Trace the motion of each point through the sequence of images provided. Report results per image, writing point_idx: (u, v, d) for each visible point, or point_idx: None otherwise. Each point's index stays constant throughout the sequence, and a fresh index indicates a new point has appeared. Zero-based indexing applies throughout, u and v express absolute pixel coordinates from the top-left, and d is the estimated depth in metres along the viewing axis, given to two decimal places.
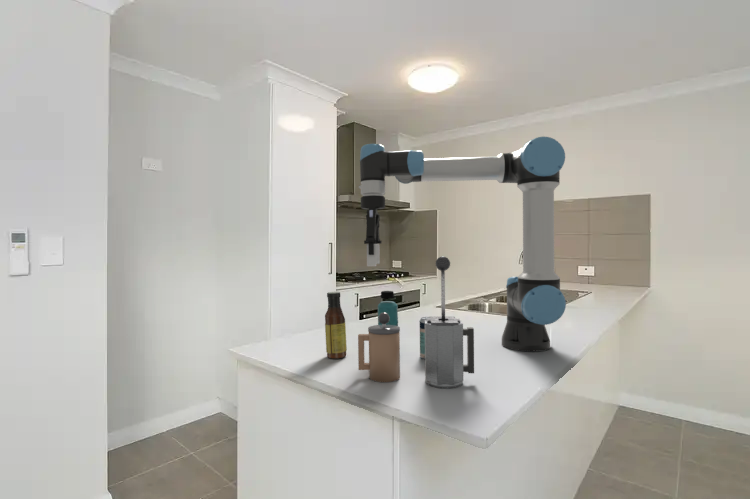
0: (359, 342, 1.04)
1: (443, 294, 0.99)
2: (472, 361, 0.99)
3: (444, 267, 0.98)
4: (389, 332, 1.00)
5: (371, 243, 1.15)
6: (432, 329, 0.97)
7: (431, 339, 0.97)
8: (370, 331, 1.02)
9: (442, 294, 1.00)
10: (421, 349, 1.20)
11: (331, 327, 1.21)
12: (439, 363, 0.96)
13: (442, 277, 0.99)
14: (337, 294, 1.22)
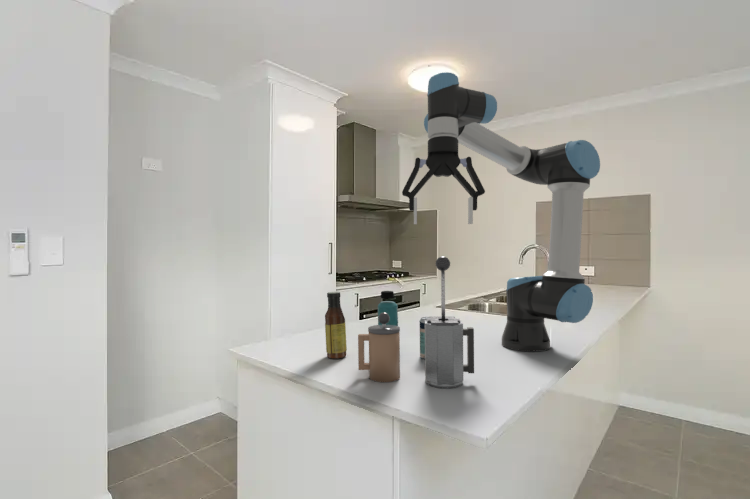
0: (359, 342, 1.04)
1: (443, 294, 0.99)
2: (472, 361, 0.99)
3: (444, 267, 0.98)
4: (389, 332, 1.00)
5: (408, 197, 1.01)
6: (432, 329, 0.97)
7: (431, 339, 0.97)
8: (370, 331, 1.02)
9: (442, 294, 1.00)
10: (421, 349, 1.20)
11: (331, 327, 1.21)
12: (439, 363, 0.96)
13: (442, 277, 0.99)
14: (337, 294, 1.22)
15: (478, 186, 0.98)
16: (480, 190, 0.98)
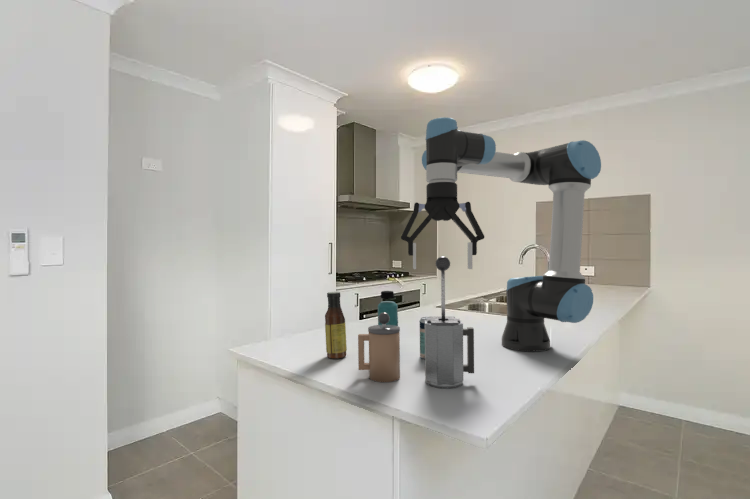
0: (359, 342, 1.04)
1: (443, 294, 0.99)
2: (472, 361, 0.99)
3: (444, 267, 0.98)
4: (389, 332, 1.00)
5: None
6: (432, 329, 0.97)
7: (431, 339, 0.97)
8: (370, 331, 1.02)
9: (442, 294, 1.00)
10: (421, 349, 1.20)
11: (331, 327, 1.21)
12: (439, 363, 0.96)
13: (442, 277, 0.99)
14: (337, 294, 1.22)
15: (477, 231, 0.98)
16: (479, 235, 0.98)
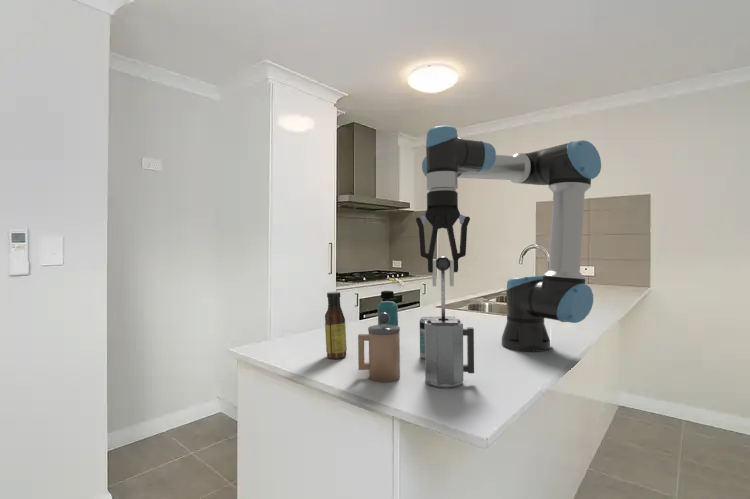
0: (359, 342, 1.04)
1: (443, 294, 0.99)
2: (472, 361, 0.99)
3: (444, 267, 0.98)
4: (389, 332, 1.00)
5: None
6: (432, 329, 0.97)
7: (431, 339, 0.97)
8: (370, 331, 1.02)
9: (442, 294, 1.00)
10: (421, 349, 1.20)
11: (331, 327, 1.21)
12: (439, 363, 0.96)
13: (442, 277, 0.99)
14: (337, 294, 1.22)
15: (462, 247, 0.98)
16: (462, 252, 0.98)
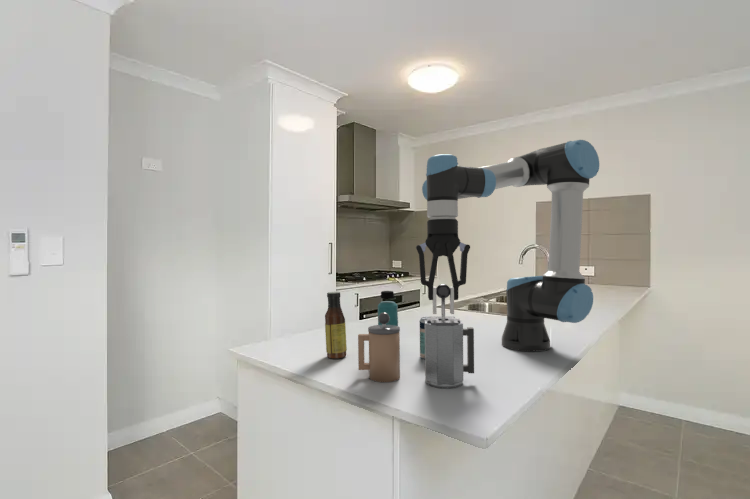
0: (359, 342, 1.04)
1: None
2: (472, 361, 0.99)
3: (444, 295, 0.98)
4: (389, 332, 1.00)
5: (427, 286, 1.00)
6: (432, 329, 0.97)
7: (431, 339, 0.97)
8: (370, 331, 1.02)
9: None
10: (421, 349, 1.20)
11: (331, 327, 1.21)
12: (439, 363, 0.96)
13: (442, 305, 1.00)
14: (337, 294, 1.22)
15: (462, 275, 0.98)
16: (462, 280, 0.98)
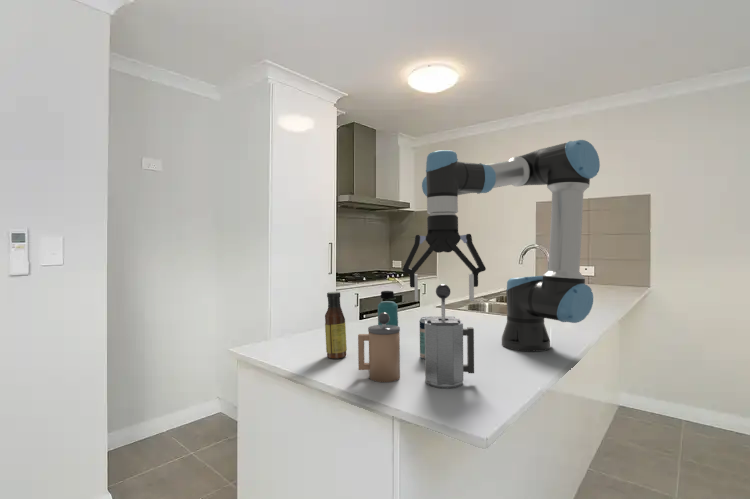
0: (359, 342, 1.04)
1: None
2: (472, 361, 0.99)
3: (444, 295, 0.98)
4: (389, 332, 1.00)
5: None
6: (432, 329, 0.97)
7: (431, 339, 0.97)
8: (370, 331, 1.02)
9: None
10: (421, 349, 1.20)
11: (331, 327, 1.21)
12: (439, 363, 0.96)
13: (442, 305, 1.00)
14: (337, 294, 1.22)
15: (479, 263, 0.98)
16: (481, 267, 0.98)
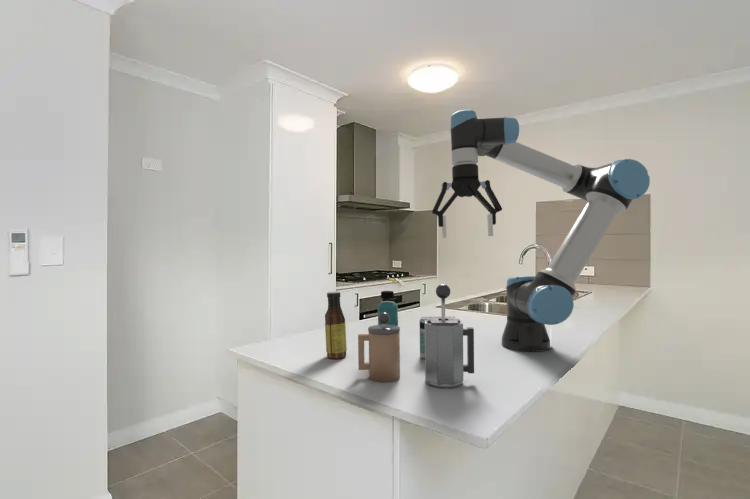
0: (359, 342, 1.04)
1: None
2: (472, 361, 0.99)
3: (444, 295, 0.98)
4: (389, 332, 1.00)
5: (437, 215, 1.19)
6: (432, 329, 0.97)
7: (431, 339, 0.97)
8: (370, 331, 1.02)
9: None
10: (421, 349, 1.20)
11: (331, 327, 1.21)
12: (439, 363, 0.96)
13: (442, 305, 1.00)
14: (337, 294, 1.22)
15: (496, 204, 1.18)
16: (498, 208, 1.18)
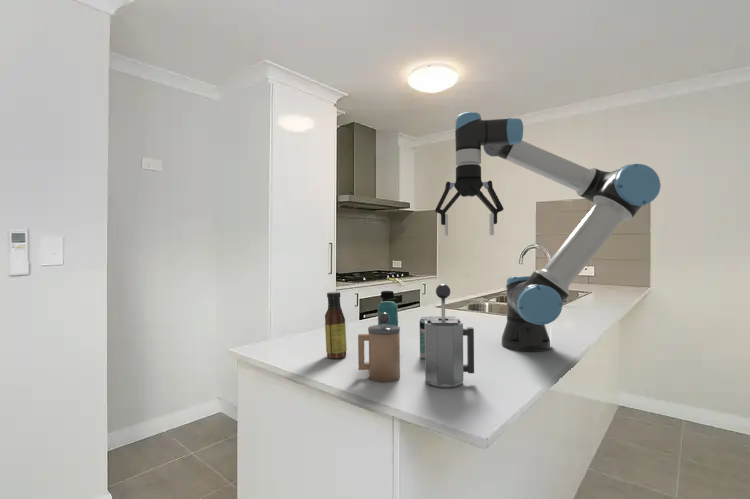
0: (359, 342, 1.04)
1: None
2: (472, 361, 0.99)
3: (444, 295, 0.98)
4: (389, 332, 1.00)
5: None
6: (432, 329, 0.97)
7: (431, 339, 0.97)
8: (370, 331, 1.02)
9: None
10: (421, 349, 1.20)
11: (331, 327, 1.21)
12: (439, 363, 0.96)
13: (442, 305, 1.00)
14: (337, 294, 1.22)
15: (498, 204, 1.21)
16: (499, 208, 1.21)
